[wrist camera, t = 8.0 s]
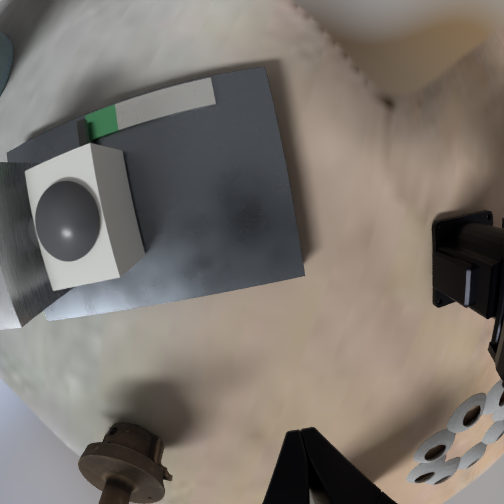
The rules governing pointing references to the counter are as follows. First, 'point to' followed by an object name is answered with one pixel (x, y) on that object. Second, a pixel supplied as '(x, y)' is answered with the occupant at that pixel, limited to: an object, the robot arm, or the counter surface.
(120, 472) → the industrial component
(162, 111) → the bench
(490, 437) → the grey flat openwork piece
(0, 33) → the teal cup
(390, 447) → the counter surface
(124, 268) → the white box with dome
